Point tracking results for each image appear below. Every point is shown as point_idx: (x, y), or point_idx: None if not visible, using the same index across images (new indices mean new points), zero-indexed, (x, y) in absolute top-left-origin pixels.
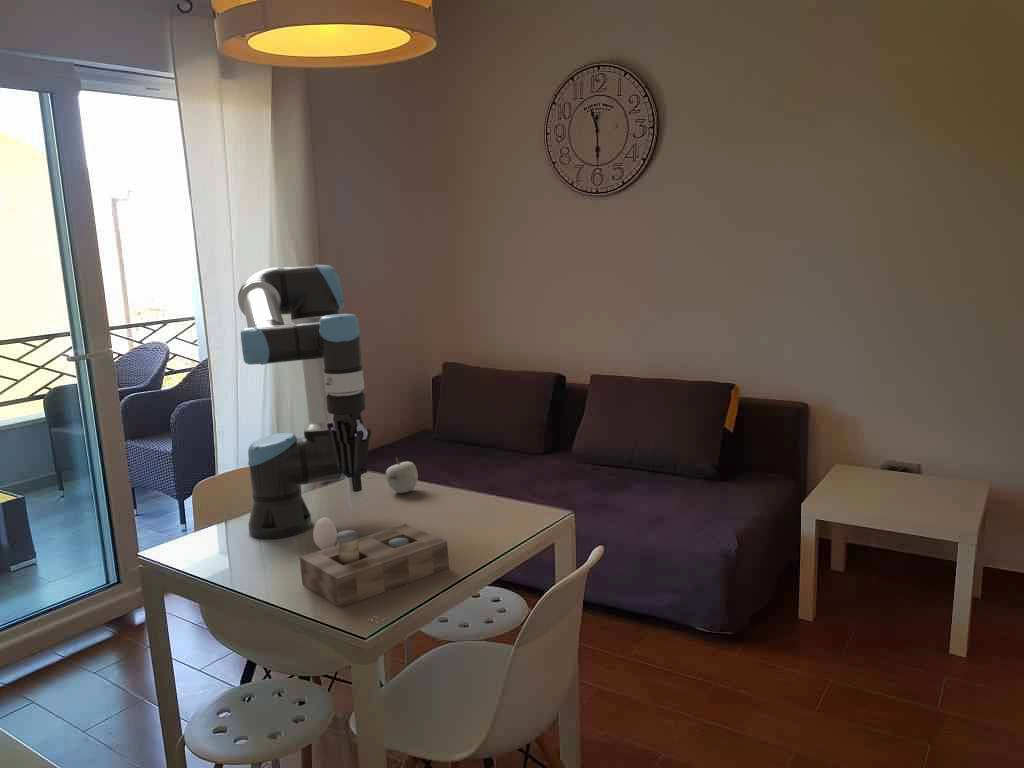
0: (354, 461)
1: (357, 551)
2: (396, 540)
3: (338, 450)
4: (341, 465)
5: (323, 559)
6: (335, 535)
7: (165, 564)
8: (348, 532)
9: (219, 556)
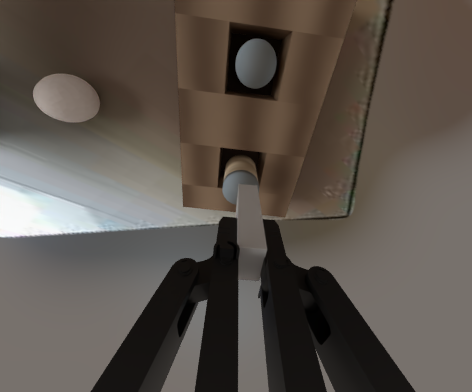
0: (325, 361)
1: (255, 169)
2: (247, 63)
3: (158, 389)
4: (195, 303)
5: (217, 194)
6: (86, 88)
7: (37, 235)
8: (237, 184)
9: (38, 198)
